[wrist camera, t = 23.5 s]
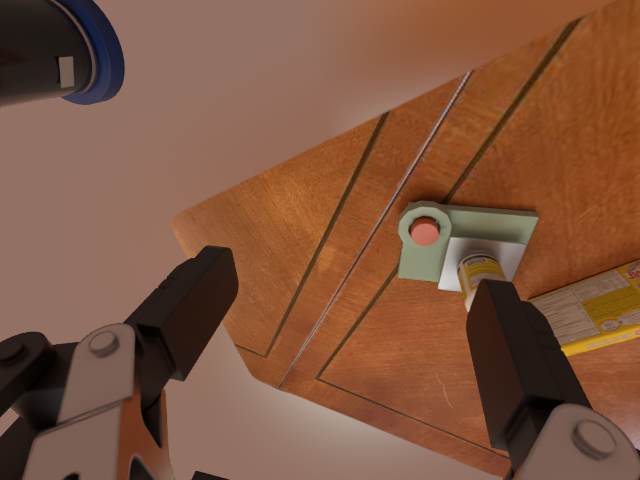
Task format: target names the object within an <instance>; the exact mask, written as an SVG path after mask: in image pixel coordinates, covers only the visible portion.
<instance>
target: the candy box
mask: <svg viewBox="0 0 640 480" xmlns="http://www.w3.org/2000/svg"><path fill="white" fill-rule="evenodd" d="M528 302H531V303H532V304H533V305H534V306H535V307H536V308H537V309H538V310H539V311H540V312H541V313H542V314H543V315H544V316H545V317H546V318H547V320H548V322H549V324H550V326H551V328H552V330H553V332H554V336H555V337H556V338H557V340H558V342H559V344H560V346H561V350H562V351H563V352H564V354H565V355H566V356H570V355H574V354H578V353H581V352H585V351H589V350H593V349H596V348H600V347H604V346H607V345H611V344H615V343H619V342H622V341H626V340H630V339H634V338H637V337H640V259H639V260H636V261H634V262H631V263H628V264H625V265H623V266H620V267H617V268H614V269H612V270H609V271H606V272H603V273H601V274H598V275H595V276H592V277H590V278H587V279H584V280H582V281H579V282H576V283H573V284H570V285H568V286H565V287H562V288H559V289H557V290H554V291H551V292H548V293H546V294H543V295H540V296H537V297H535V298H532V299H528Z"/></svg>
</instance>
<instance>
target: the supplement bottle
mask: <svg viewBox="0 0 640 480" xmlns="http://www.w3.org/2000/svg"><path fill="white" fill-rule="evenodd" d="M457 275H458V279H459V283H460V287H461V291H462V295H463V299H464V304H465V307H466V309H467V311H468V313H469V310H470V307H471V304H472V301H473V298H474V296H475V293H476V290H477V287H478V284H479V282H480V280H481V279H483V278H484V279H492V280H501V281H507V279H506V277H505V275H504V272H503V270H502V268H501V266H500V264H499V262H498V261H497V259H495V258H494V257H493V256H490V255H487V254H473V255H470V256H467V257H466V258H464V259H463V260H462V261H461V262H460V263H459V265H458V268H457Z"/></svg>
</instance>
